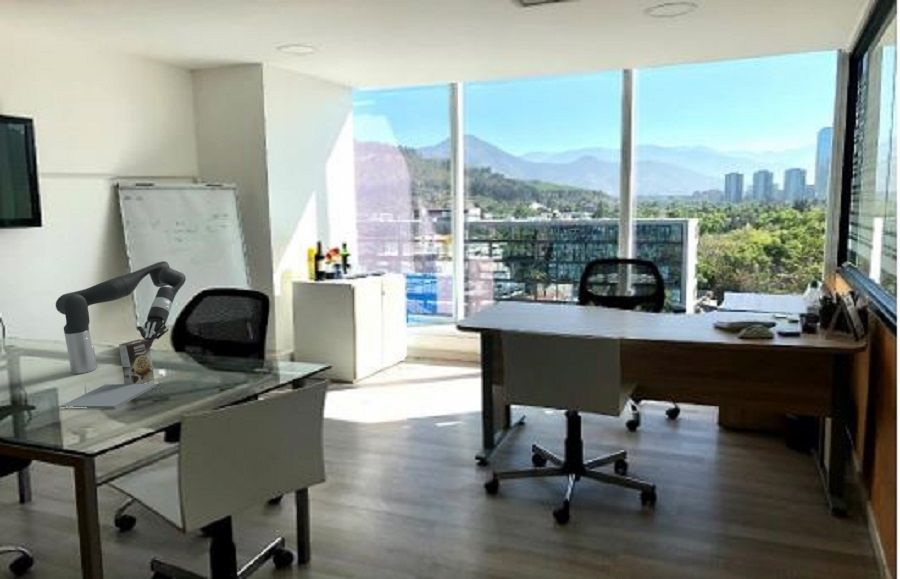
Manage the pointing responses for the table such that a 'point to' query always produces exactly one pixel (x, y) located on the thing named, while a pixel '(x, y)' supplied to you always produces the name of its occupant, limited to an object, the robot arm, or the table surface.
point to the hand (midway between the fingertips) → (146, 347)
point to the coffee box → (136, 362)
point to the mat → (110, 395)
